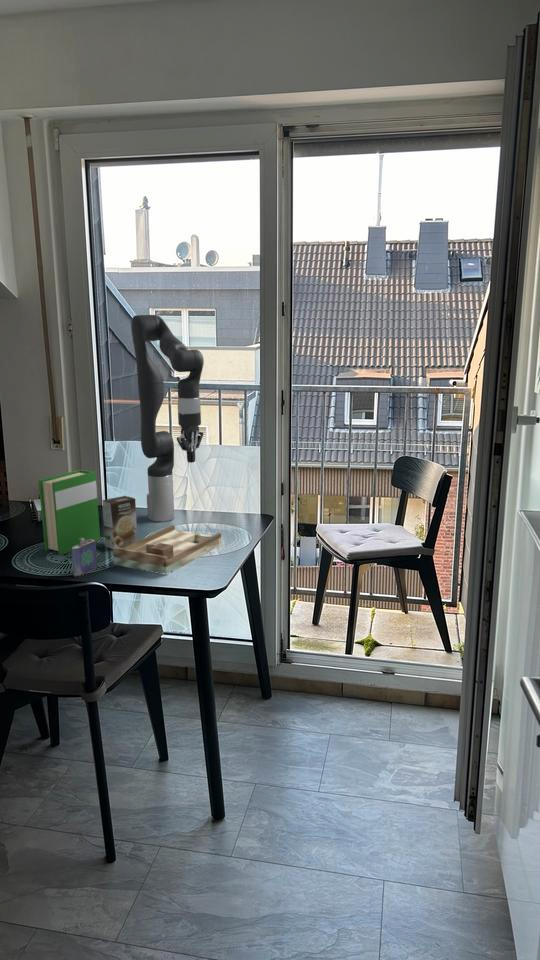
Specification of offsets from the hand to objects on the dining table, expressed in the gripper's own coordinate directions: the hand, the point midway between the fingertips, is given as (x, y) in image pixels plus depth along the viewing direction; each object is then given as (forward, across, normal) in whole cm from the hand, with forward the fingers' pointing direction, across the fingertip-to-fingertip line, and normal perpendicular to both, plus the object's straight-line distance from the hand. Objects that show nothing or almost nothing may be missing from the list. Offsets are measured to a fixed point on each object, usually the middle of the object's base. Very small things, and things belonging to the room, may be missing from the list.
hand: (191, 462), depth 232 cm
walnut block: (+24, +27, +7) cm, 37 cm away
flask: (+27, +41, -12) cm, 51 cm away
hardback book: (+27, +24, -33) cm, 49 cm away
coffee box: (+27, +17, -18) cm, 37 cm away
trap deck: (+27, +17, +2) cm, 32 cm away
